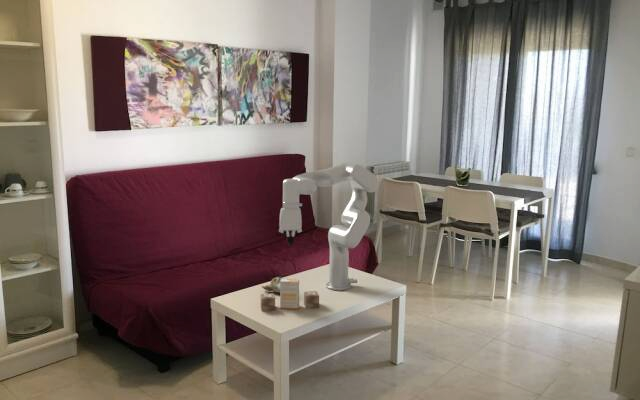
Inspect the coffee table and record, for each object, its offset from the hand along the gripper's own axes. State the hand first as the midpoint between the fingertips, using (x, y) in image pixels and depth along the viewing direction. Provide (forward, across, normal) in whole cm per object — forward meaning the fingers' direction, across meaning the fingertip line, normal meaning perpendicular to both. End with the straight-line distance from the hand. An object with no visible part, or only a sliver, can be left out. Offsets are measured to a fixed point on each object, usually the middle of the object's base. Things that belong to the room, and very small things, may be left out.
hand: (290, 244), depth 253 cm
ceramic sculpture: (+27, +4, -10) cm, 29 cm away
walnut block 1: (+27, +11, +10) cm, 31 cm away
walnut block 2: (+27, -9, +10) cm, 30 cm away
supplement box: (+27, +1, +10) cm, 29 cm away
